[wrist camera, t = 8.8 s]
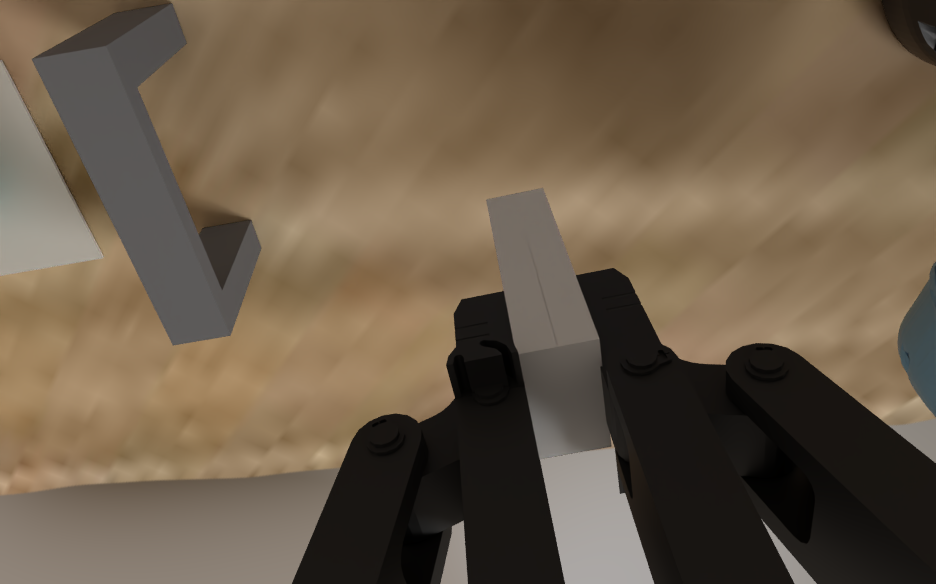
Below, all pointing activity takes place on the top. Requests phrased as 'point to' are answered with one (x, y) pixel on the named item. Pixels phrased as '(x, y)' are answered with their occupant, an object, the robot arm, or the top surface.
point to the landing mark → (34, 196)
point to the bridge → (147, 172)
